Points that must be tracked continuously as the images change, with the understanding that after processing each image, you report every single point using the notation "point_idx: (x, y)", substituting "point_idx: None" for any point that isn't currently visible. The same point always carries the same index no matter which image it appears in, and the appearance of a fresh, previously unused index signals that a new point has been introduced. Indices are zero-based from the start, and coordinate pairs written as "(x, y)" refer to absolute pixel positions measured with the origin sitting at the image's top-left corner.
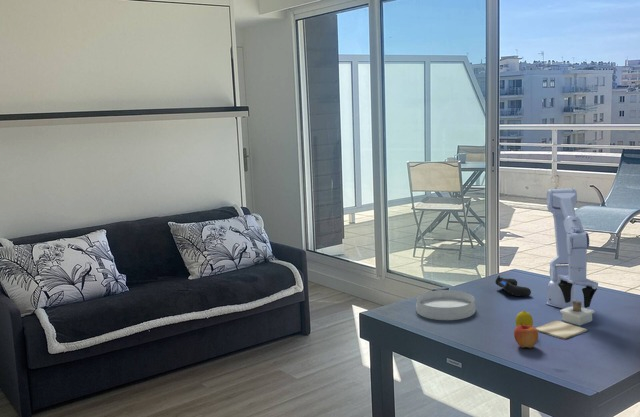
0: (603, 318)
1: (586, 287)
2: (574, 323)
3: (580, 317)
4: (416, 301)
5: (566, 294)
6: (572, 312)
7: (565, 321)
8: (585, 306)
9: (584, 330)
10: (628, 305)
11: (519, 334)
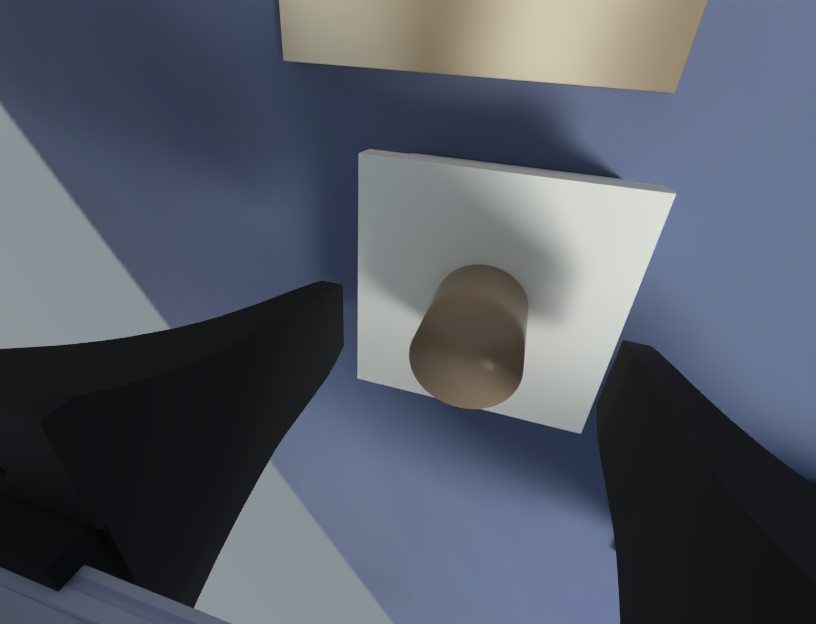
0: (376, 400)
1: (66, 527)
2: (467, 160)
3: (366, 153)
4: None
5: (659, 442)
6: (487, 209)
7: (577, 173)
8: (316, 284)
9: (280, 7)
10: (396, 599)
11: None
